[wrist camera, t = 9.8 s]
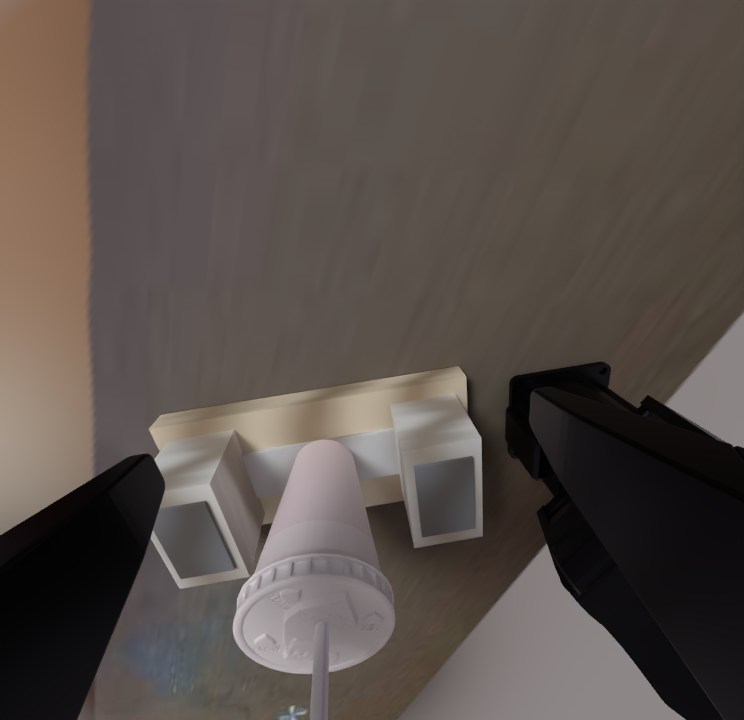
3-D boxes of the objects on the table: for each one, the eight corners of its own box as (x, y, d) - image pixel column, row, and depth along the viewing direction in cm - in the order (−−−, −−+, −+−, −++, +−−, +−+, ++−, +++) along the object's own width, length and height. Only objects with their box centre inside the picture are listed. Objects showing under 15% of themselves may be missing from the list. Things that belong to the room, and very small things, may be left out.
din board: (458, 366, 23) (498, 421, 17) (463, 474, 26) (496, 549, 21) (160, 414, 22) (99, 487, 17) (207, 517, 26) (171, 605, 20)
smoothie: (394, 446, 23) (464, 765, 10) (343, 513, 25) (348, 851, 12) (302, 404, 21) (244, 729, 8) (256, 480, 23) (150, 837, 10)
